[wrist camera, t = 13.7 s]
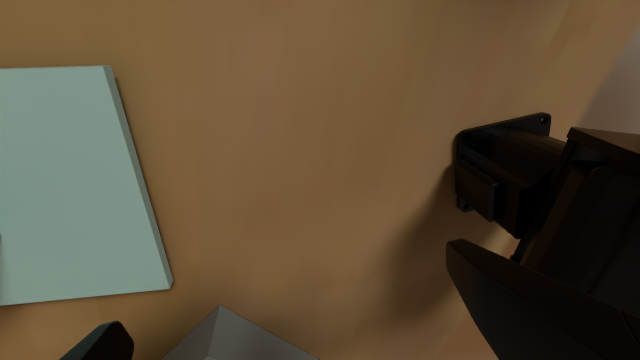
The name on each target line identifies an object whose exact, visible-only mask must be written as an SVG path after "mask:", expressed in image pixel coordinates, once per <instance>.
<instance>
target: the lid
mask: <svg viewBox="0 0 640 360" xmlns="http://www.w3.org/2000/svg"><path fill="white" fill-rule="evenodd" d="M172 283H173V278H172V275H171V271H170V268H169V265H168V261H167V258H166V254H165V251H164V247H163V244H162V240H161V237H160V233H159V230H158V227H157V223H156V220H155V216H154V213H153V209H152V206H151V202H150V199H149V196H148V192H147V189H146V185H145V182H144V178H143V175H142V171H141V168H140V165H139V161H138V158H137V154H136V151H135V147H134V144H133V140H132V137H131V133H130V130H129V127H128V123H127V120H126V116H125V113H124V109H123V106H122V102H121V99H120V96H119V92H118V89H117V85H116V82H115V78H114V75H113V71H112V68H111V65H105V66H69V67H34V68H0V306H1V305H11V304H22V303H32V302H42V301H52V300H62V299H72V298H82V297H92V296H103V295H113V294H123V293H133V292H143V291H153V290H163V289H170V287H171V285H172Z"/></svg>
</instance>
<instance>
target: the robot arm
mask: <svg viewBox="0 0 640 360" xmlns="http://www.w3.org/2000/svg"><path fill="white" fill-rule="evenodd" d="M542 119H543V121H542V122H541V120H542ZM550 125H551V116H550V114H547V113H544V112H541V113H536V114H532V115H527V116H523V117H519V118H514V119H510V120H505V121H501V122H497V123H492V124H488V125H484V126H479V127H475V128H470V129H466V130H463V131H461V132H460V133H459V134H458V137H457V162H456V164H455V193H456V194H457V207H458V208H459V209H460V210H461V211H462V212H468V211H472V210H476V211H477V212H478V213H479V214H480V215H481V216H483V217H484V218H485V219H486V220H487V221H489V222H496V223H498V224H499V225H500V226H501V227H502V228H504V229H505V230H506V231H507V232H508V233H510V234H511V235H512V236H513V237H514V238H516V239H521V240H520V242H519V244H518V246H517V248H516V250H515V252H514V254H513V255H511V257H510V259H507V258H505V257H503V256H500V255H498V254H496V253H494V252H491V251H489V250H487V249H485V248H482V247H480V246H478V245H476V244H473V243H471V242H469V241H467V240H464V239H456V240H452V241H448V242H447V243H446V267H447V270H448V273H449V275H450V277H451V279H452V281H453V282H454V284H455V286H456V288H457V290H458V292H459V294H460V296H461V298H462V300H463V301H464V303H465V305H466V307H467V309H468V311H469V313H470V315H471V317H472V318H473V320H474V322H475V324H476V325H477V327H478V329H479V330H480V332H481V333H482V335H483V336H484V338H485V339H486V341H487V342H488V344H489V345H490V347H491V348H492V350H493V351H494V353H495V354H496V356H497V357H498V359H499V360H640V134H631V133H630V134H629V133H622V132H613V131H603V130H595V129H585V128H577V127H571V128H570V130H569V132H568V134H567V138H568V140H567V142H564V141H561V140H558V139H555V138H552V137H549V132H550ZM466 135H468V137H467V139H466V140H464V137H465V136H466ZM464 204H466V205H465V206H464V207H463V205H464ZM133 351H134V342H133V339H132V338H131V336H130V335H129V333H128V332H127V331H126V329H125V328H124V326H123V325H122V324H121V322H119V321H112V322H108V323H104V324H101V325H99V326H98V327H97V328H96V329H94V330H93V331H92V332H91V333H90V334H89V335H87V336H86V337H85V338H84V339H83V340H82V341H80V342H79V343H78V344H77V345H76V346H75V347H73V348H72V349H71V350H70V351H69V352H67V353H66V354H65V355H64V356H63V357H62V358H60V359H59V360H132V356H133Z"/></svg>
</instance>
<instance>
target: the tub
mask: <svg viewBox="0 0 640 360" xmlns="http://www.w3.org/2000/svg"><path fill="white" fill-rule="evenodd" d="M161 360H319V359H317V358H316V357H314V356H312V355H310V354H308V353H307V352H305V351H303V350H301V349H299V348H297V347H296V346H294V345H292V344H290V343H288V342H287V341H285V340H283V339H281V338H279V337H278V336H276V335H274V334H272V333H270V332H268V331H267V330H265V329H263V328H261V327H259V326H258V325H256V324H254V323H252V322H250V321H248V320H247V319H245V318H243V317H241V316H239V315H238V314H236V313H234V312H232V311H230V310H229V309H227V308H225V307H223V306H221V305H219V306H218V307H217V308H216V309H215V310H214V311H212V312H211V313H210V314H209V315H208V316H207V317H206V318H205V319H204V320H203V321H202V322H201V323H200V324H199V325H197V326H196V327H195V328H194V329H193V330H192V331H191V332H190V333H189V334H188V335H187V336H186V337H185V338H184V339H183V340H181V341H180V342H179V343H178V344H177V345H176V346H175V347H174V348H173V349H172V350H171V351H170V352H169V353H168V354H167V355H165V356H164V357H163V358H162V359H161Z"/></svg>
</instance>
